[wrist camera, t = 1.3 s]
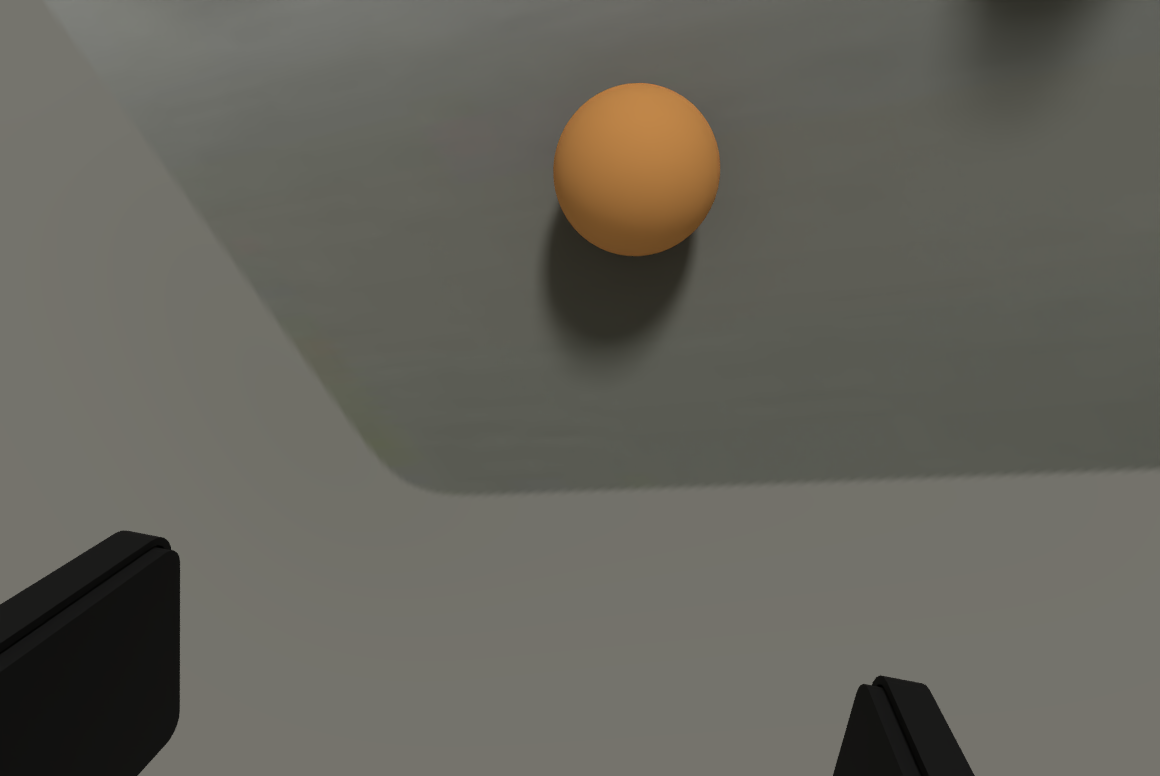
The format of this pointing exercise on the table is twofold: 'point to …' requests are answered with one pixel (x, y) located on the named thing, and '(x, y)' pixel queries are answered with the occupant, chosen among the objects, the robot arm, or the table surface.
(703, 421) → the table surface
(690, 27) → the table surface
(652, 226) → the ball
